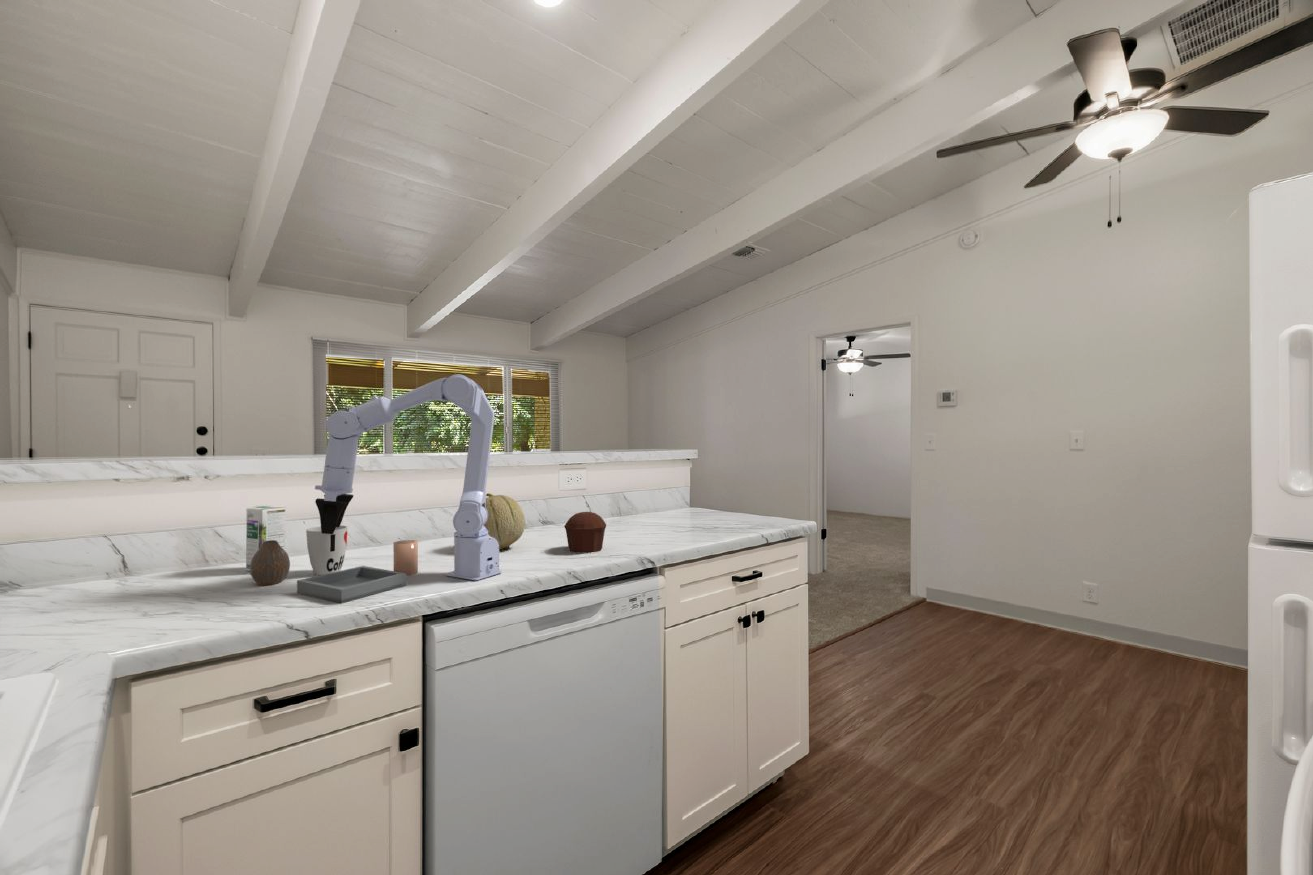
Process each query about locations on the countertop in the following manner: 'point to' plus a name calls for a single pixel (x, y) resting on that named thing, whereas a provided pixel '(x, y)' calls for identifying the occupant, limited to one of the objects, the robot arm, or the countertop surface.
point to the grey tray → (351, 584)
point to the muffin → (585, 532)
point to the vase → (270, 564)
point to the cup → (326, 549)
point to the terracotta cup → (406, 556)
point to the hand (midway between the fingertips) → (330, 530)
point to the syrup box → (264, 528)
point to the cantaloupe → (504, 519)
